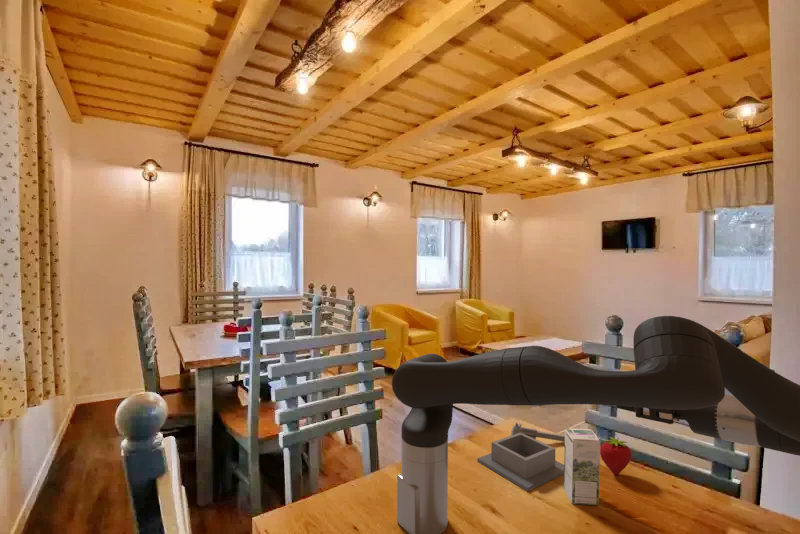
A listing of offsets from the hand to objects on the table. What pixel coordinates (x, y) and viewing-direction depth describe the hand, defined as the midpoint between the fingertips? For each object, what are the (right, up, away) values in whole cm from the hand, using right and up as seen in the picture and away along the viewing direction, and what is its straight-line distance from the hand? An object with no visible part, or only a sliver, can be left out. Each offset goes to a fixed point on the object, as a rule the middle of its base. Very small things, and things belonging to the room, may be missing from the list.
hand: (626, 397), depth 81 cm
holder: (-15, -24, +21) cm, 35 cm away
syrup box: (-6, -25, +7) cm, 26 cm away
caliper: (-4, -24, +33) cm, 42 cm away
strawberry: (+7, -24, +17) cm, 30 cm away
